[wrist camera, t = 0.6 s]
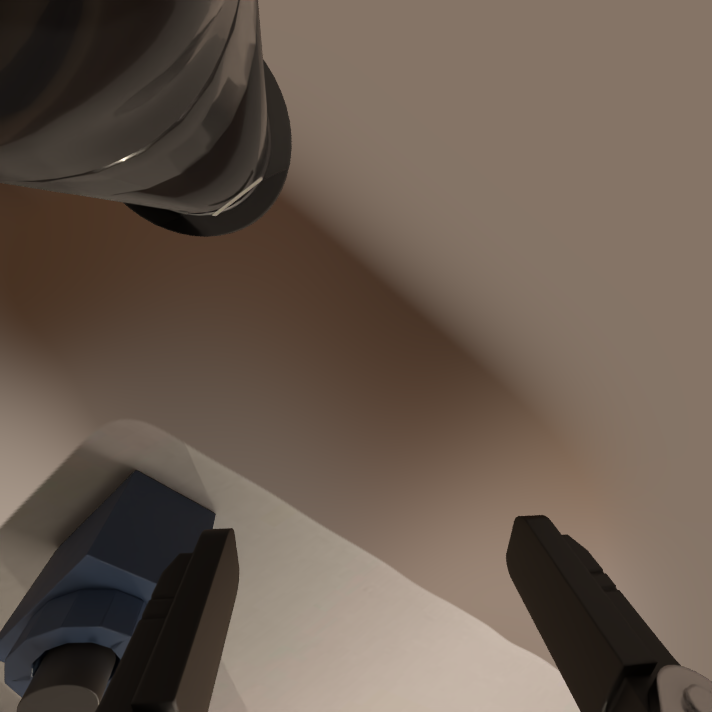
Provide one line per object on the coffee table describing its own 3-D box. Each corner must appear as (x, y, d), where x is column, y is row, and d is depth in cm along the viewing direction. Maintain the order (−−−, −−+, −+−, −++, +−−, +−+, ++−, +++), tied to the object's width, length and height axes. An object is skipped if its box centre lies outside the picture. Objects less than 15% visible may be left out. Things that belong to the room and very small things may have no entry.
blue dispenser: (142, 584, 28) (86, 731, 20) (56, 548, 25) (-49, 702, 17) (216, 513, 27) (189, 637, 19) (135, 469, 25) (65, 591, 16)
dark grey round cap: (91, 686, 19) (71, 735, 18) (28, 669, 18) (-1, 721, 16) (130, 649, 19) (114, 695, 17) (69, 630, 18) (45, 677, 16)
